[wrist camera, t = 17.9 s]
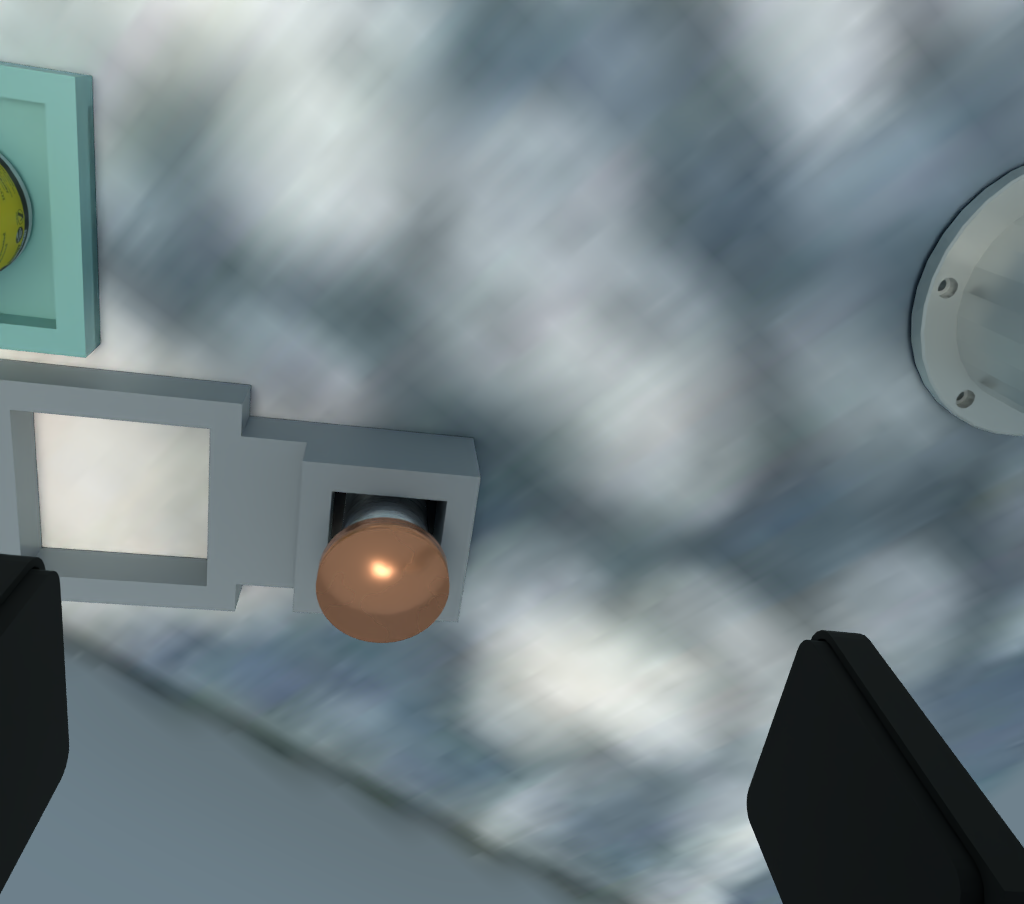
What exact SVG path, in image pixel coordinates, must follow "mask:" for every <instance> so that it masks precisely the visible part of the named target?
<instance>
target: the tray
mask: <svg viewBox="0 0 1024 904" xmlns="http://www.w3.org/2000/svg"><path fill="white" fill-rule="evenodd" d="M0 153H1V154H2V155H3V156H4V157H5V158H6V159H7V160H8V161H9V162H10V164H11V165H12V166H13V167H14V169H15V170H16V172H17V173H18V175H19V176H20V178H21V180H22V181H23V183H24V185H25V188H26V190H27V192H28V195H29V198H30V202H31V208H32V227H31V232H30V237H29V239H28V242H27V244H26V246H25V248H24V250H23V251H22V253H21V254H20V256H19V257H18V258H17V259H16V260H15V261H14V262H13V263H12V264H10V265H9V266H8V267H6V268H5V269H3V270H2V271H1V272H0V349H9V350H18V351H28V352H37V353H47V354H56V355H66V356H75V357H85V358H86V357H87V356H88V355H89V354H90V353H91V352H92V351H93V350H94V349H95V348H96V347H97V346H98V345H100V316H99V284H98V252H97V220H96V188H95V157H94V125H93V93H92V76H90V75H83V74H77V73H71V72H64V71H58V70H52V69H45V68H39V67H32V66H26V65H20V64H13V63H7V62H1V61H0Z"/></svg>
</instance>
